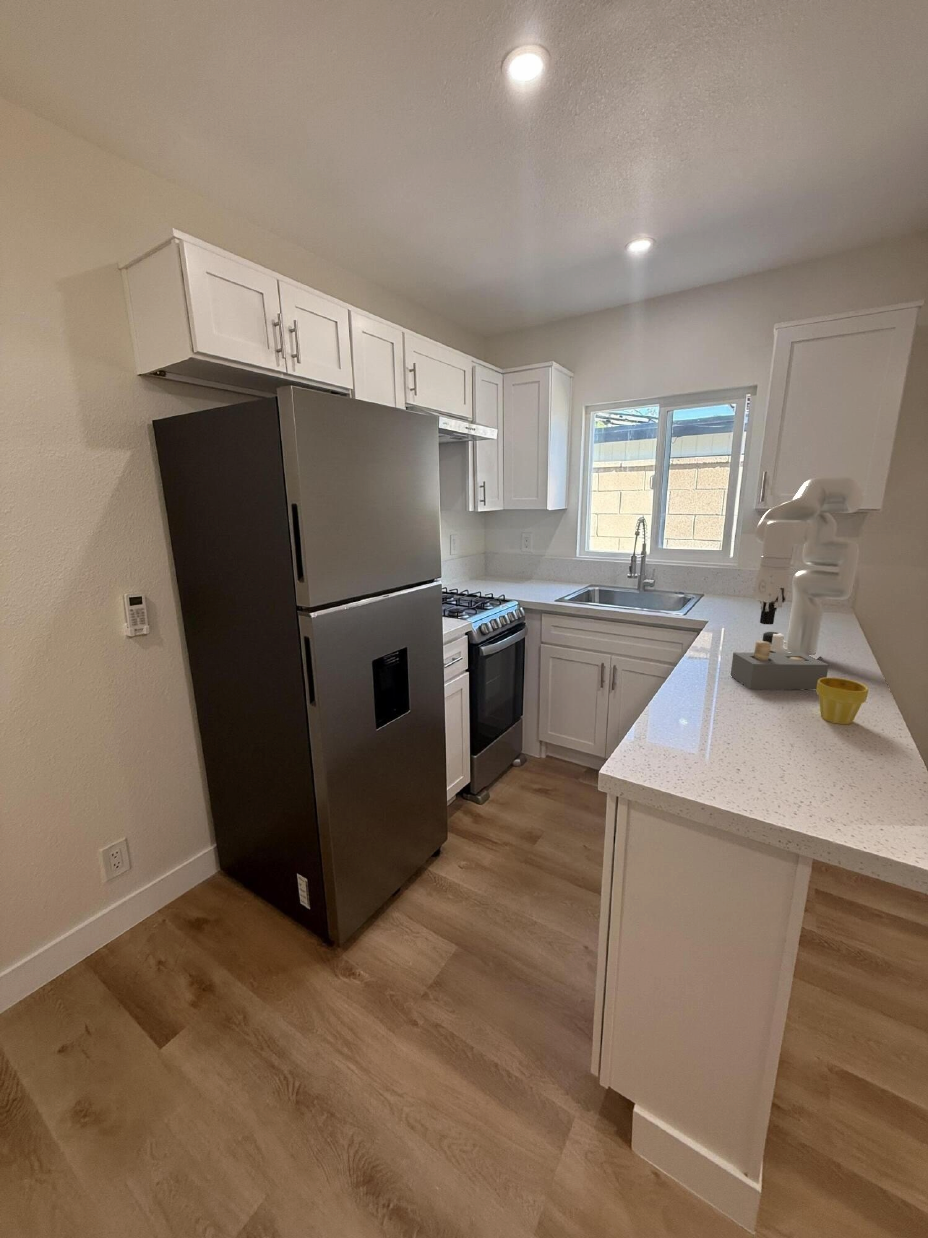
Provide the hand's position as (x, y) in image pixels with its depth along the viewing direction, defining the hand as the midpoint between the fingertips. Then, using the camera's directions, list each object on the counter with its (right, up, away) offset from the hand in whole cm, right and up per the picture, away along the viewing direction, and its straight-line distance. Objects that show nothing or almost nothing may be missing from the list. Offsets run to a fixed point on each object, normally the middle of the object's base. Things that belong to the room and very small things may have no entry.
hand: (766, 623), depth 150 cm
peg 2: (+11, -18, +4) cm, 21 cm away
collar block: (+6, -19, +4) cm, 20 cm away
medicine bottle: (+13, -15, +20) cm, 28 cm away
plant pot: (+5, -25, -22) cm, 33 cm away
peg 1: (0, -13, +3) cm, 13 cm away
